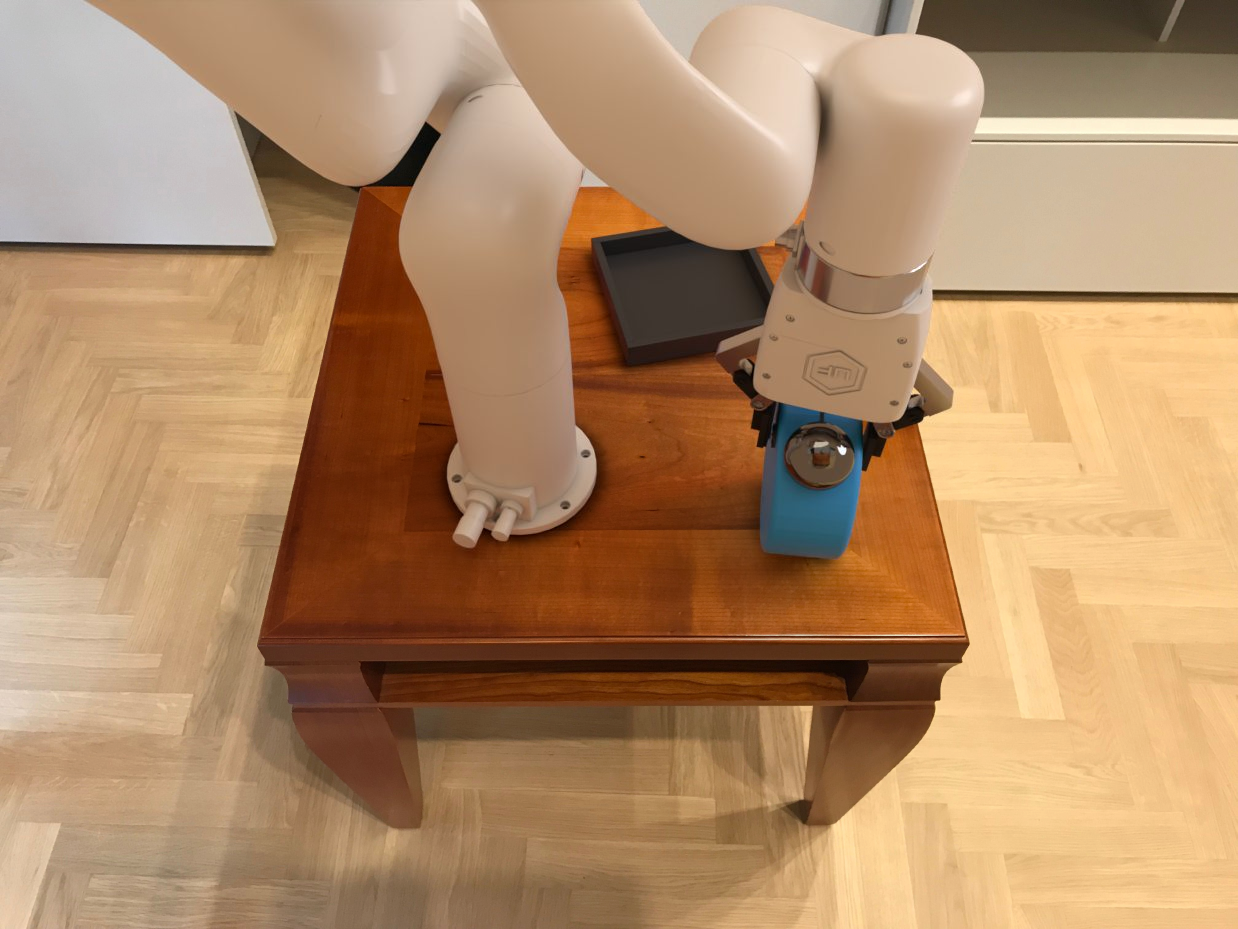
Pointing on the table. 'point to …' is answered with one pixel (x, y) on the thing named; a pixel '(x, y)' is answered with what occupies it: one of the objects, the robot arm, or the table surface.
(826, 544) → the alarm clock
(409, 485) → the table surface
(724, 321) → the tray
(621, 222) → the table surface
